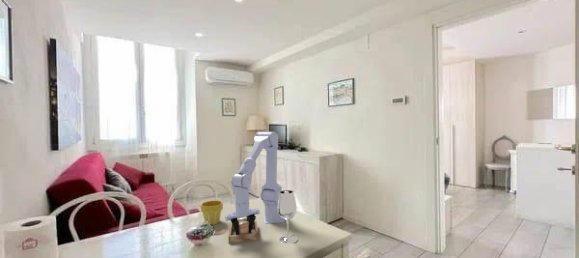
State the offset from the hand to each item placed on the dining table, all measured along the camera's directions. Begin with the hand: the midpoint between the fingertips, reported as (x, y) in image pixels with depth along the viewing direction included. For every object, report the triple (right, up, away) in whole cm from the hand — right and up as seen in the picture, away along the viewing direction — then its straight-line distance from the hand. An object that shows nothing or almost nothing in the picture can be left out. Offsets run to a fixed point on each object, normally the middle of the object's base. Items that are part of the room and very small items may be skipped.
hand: (243, 233), depth 114 cm
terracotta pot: (0, -1, 0) cm, 1 cm away
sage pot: (-1, -1, +6) cm, 6 cm away
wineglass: (+19, -2, -3) cm, 19 cm away
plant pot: (-18, -2, +19) cm, 26 cm away
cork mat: (-13, -2, +7) cm, 14 cm away
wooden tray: (0, -2, +3) cm, 3 cm away
